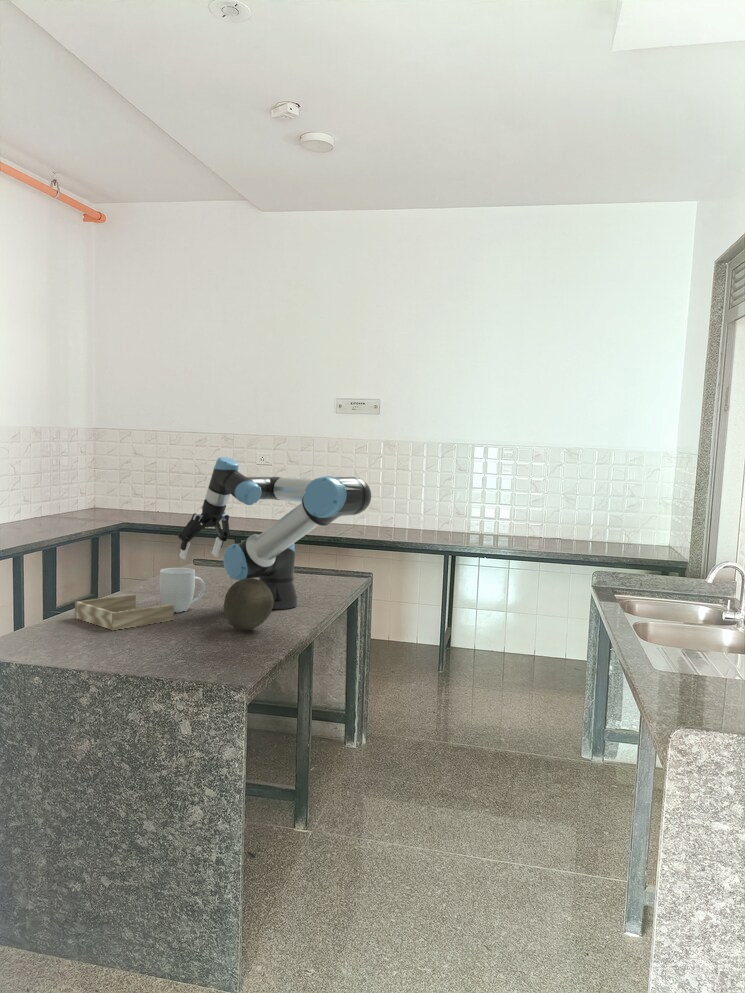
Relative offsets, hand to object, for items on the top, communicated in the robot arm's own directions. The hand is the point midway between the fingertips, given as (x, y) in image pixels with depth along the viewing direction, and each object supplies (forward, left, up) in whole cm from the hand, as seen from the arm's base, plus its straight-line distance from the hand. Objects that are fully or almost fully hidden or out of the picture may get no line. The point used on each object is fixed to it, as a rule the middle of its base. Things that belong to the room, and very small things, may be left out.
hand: (198, 556), depth 253 cm
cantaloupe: (-44, +16, -15) cm, 49 cm away
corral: (-10, +35, -15) cm, 39 cm away
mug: (-10, +15, -15) cm, 23 cm away
